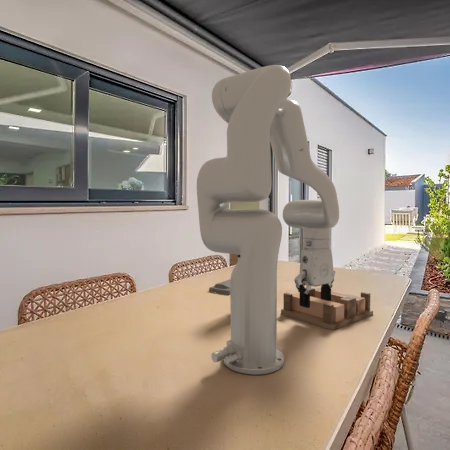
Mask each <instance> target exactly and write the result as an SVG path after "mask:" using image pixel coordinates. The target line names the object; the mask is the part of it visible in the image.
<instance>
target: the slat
mask: <svg viewBox="0 0 450 450" xmlns="http://www.w3.org/2000/svg"><path fill="white" fill-rule="evenodd" d="M299 303H300V292H298V293H294V294H293V293H292V309H293V310H296V311H299V312H303V313H306V314H310V315H313V316H317V317H320V318H323V304H324V303H328V304H332V305H334V319H333V321H334V322H337V321H340V320H343V319H344V304H340V303H336V302H332V301H328V300H324V299H319V298H315V297H311V296H310V307H309V308H306V307H302V306H300V304H299Z"/></svg>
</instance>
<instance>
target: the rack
mask: <svg viewBox="0 0 450 450" xmlns="http://www.w3.org/2000/svg"><path fill="white" fill-rule="evenodd" d="M321 286H322V285H320V287H318V288H314V287H311V288H310V290H309V292H308V293H309V294H310V296H311V297H315V298H319V299H321ZM292 295H293V293H289V292H284V293H283V308H281V310H280V314H282V315H285V316H288V317H291V318H294V319H298V320H301V321H303V322H306V323H310V324H314V325H315V326H319V327H322V328H325V329H328V330H331V331H335V330H337V329H340V328H342V327H345V326H347V325H350V324H352V323H355V322H358V321H360V320H363V319H366V318H368V317H370V316H373V315H374V311H373V310H372V309H371V293H369V292H365V291H362V292H360V296H357V295H354V294H349V293H344V292H339V291H336V290H331V301H332V302H336V303H340V304H344V319H343V320H340V321H337V322H334V321H333V319H334V305H332V304H328V303H324V304H323V318H320V317H317V316H313V315H310V314H306V313H303V312H299V311H296V310H293V309H292Z"/></svg>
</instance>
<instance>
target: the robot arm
mask: <svg viewBox="0 0 450 450" xmlns="http://www.w3.org/2000/svg"><path fill="white" fill-rule="evenodd" d="M291 80H292V78H291V74H290V71H289V70H288V69H287V67H285V66H283V65H280V64H272V65H266V66H262V67H258V68H254V69H251V70H247V71H244V72H241V73H238V74H234V75H230V76H227V77H223V78H222V79H220V80H218V81H217V82H216V83H215V84H214V86H213V88H212V91H211V102H212V105H213V107H214V110H215V112H216V113H217V114H218V116H219V117H220V118H221V119H222V120H223V121H224V122H226V123H227V129H226V148H227V149H226V157H225V156H224V157H217V158H212V159H209V160H207V161H205V162H204V163H203V164H202V166H201V167H200V169H199V171H198V173H197V177H196V196H197V197H196V198H197V209H198V222H199V232H200V237H201V240H202V243H203V245H204V246H205V248H206V249H208V250H209V251H211V252H215V253H219V254H220V253H221V254H227V255H228V254H230V255H231V254H232V255H237V256H238V255H240V259H239V261H238V260H237V262H236V264H235V265H234V267H233V268H232V271H231V274H230V279H229V280H230V295H229V296H230V301H229V303H230V340H229V339H228V340H227V341H226V346H225V347H223V349H221V350H220V349H219V350H216V351H213V352H212V353H211V356H210V357H211V359H212V362H213V363H219V362H222V361H223V363H224V365H225V366H226V367H227V368H229V369H231V370H232V371H234V372H238V373H240V374H247V375H253V376H254V375H255V376H256V375H265V374H267V375H268V374H271V373H273V372H276V371H279V369H282V367H283V366H284V363H285V356H284V353H283V352H281V350H279V349H278V348H277V334H278V333H277V329H278V328H277V323H278V322H277V317H278V316H277V313H278V310H277V306H278V305H277V301H278V299H277V298H278V297H277V294H278V293H277V287H278V286H277V284H278V282H277V281H278V277H277V276H278V261H279V260H278V259H279V252H280V248H281V242H282V235H283V234H282V233H283V226H282V222H281V220H280V218H279V217H278V216H277V215H276V214H275V213H274V212H272V211H269V210H266V209H261V208H260V209H259V208H237V209H236V208H235V209H233V208H230V204H234V203H236V204H237V203H239V204H241V203H245V204H247V203H257V202H262V201H264V200H266V199H267V198H268V197H269V196H270V194H271V191H272V184H273V183H272V182H273V181H272V179H273V177H272V155H271V154H272V153H273V157H274V161H275V165H276V166H275V167H276V169H277V171H278V172H279V173H280V174H282V175H284V176H286V177H289V178H291V179H293V180H296V181H298V182H300V183H303V184H305V185H306V186H308V187H310V188H312V189H313V190H314V191H315V192H316V194H318V196H319V198H320V199H295V200H291V201H289V202H287V203H286V204H285V205H284V207H283V209H282V219H283V221H284V223H285V224H286V225H287V226H288V227H290V228H294V229H302V249H301V254H300V264H299V274H297V275H296V276H295V277H294V280H293V281H294V283H295V288H296V289H297V292H298V293H299V294H300V303H299V304H300V306H302V307H306V308H309V307H310V294H309V293H308V292H309V290H310V288H312V287H313V288H314V287H320V288H321V299H324V300H328V301H331V291H332V288H333V283H334V281H335V276H336V271H335V270H334V261H333V253H332V249H331V238H330V237H331V229H333V228H334V227H336V225H337V224H338V222H339V219H340V206H339V200H338V195H337V190H336V186H335V185H334V183H333V181H332V179H331V178H330V176H328V174H327V173H326V172H325V170H323V169H322V168H321V167H320V166H319V165H317V164H316V163H315V162H314V161H313V159H312V157H311V151H310V147H309V146H310V145H309V142H308V138H307V131H306V126H305V122H304V118H303V113H302V108H301V106H300V104H299V103H298V102H297V101H295V100H293V99H288V97H289V95H290V92H291V87H292V85H291V84H292V81H291ZM271 150H272V152H271ZM321 285H322V286H321Z"/></svg>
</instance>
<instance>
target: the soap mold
mask: <svg viewBox="0 0 450 450" xmlns="http://www.w3.org/2000/svg"><path fill="white" fill-rule="evenodd" d="M209 291H210V292H211V293H214V292H216V293H215V294H220V293H221V294H222V295H226V294H227V295H226V296H230V279H227V280H223V281H221V282H217V283H215V284H214V285H213V286H211V287H209V288H208V292H209Z"/></svg>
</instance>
